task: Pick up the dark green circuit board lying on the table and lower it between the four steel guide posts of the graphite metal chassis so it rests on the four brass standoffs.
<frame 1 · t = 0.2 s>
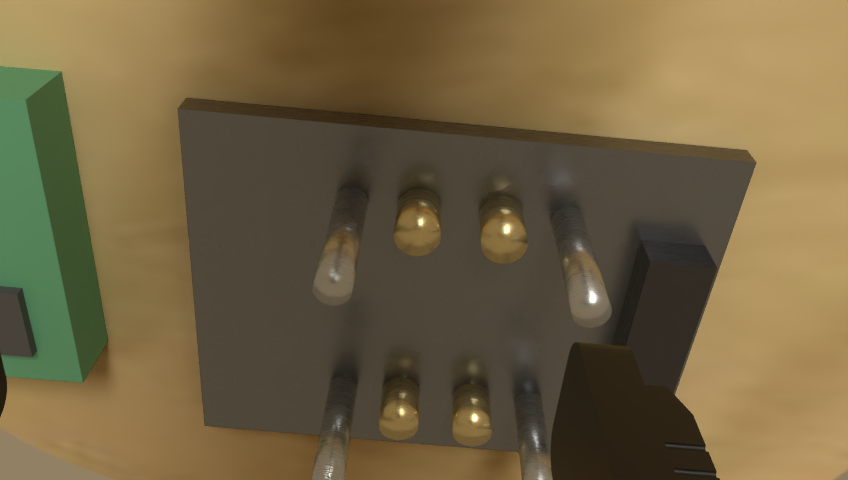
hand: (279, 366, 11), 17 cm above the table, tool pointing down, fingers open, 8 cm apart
board: (20, 209, 30), on the table
chassis: (447, 295, 31), on the table
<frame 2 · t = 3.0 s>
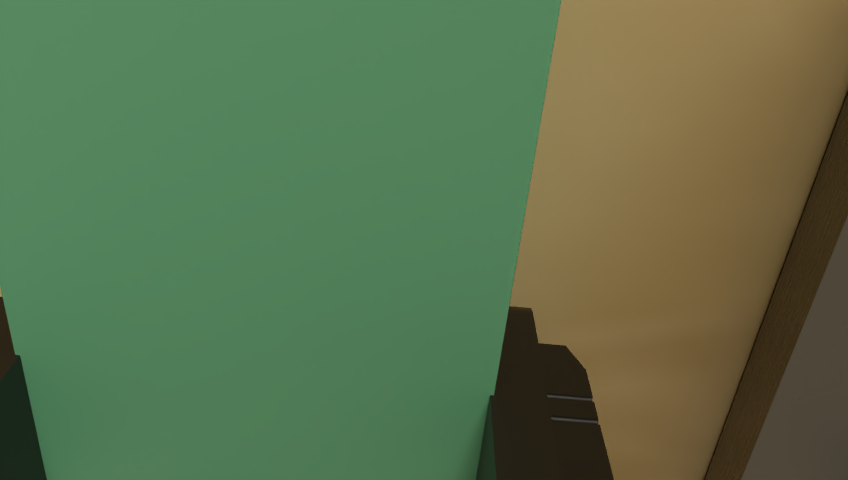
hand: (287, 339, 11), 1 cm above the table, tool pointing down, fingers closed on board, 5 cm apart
board: (299, 299, 12), on the table, touching gripper
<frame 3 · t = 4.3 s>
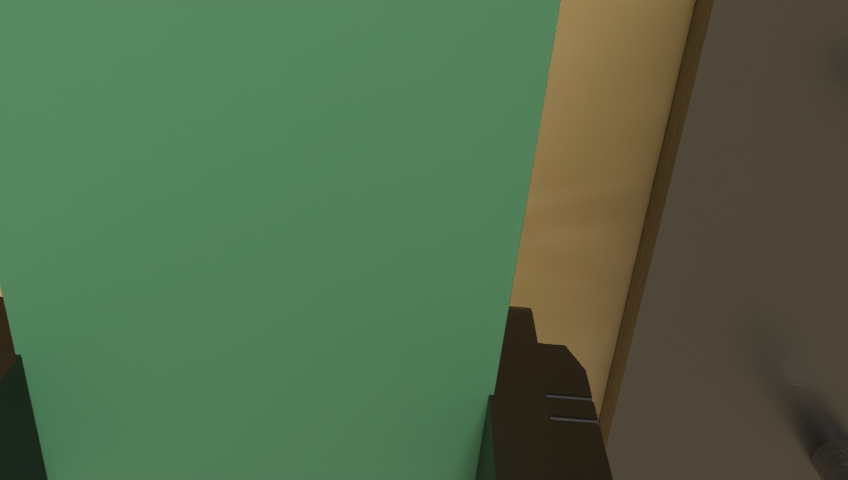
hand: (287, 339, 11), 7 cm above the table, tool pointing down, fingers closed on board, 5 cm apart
board: (299, 299, 12), point 6 cm above the table, touching gripper
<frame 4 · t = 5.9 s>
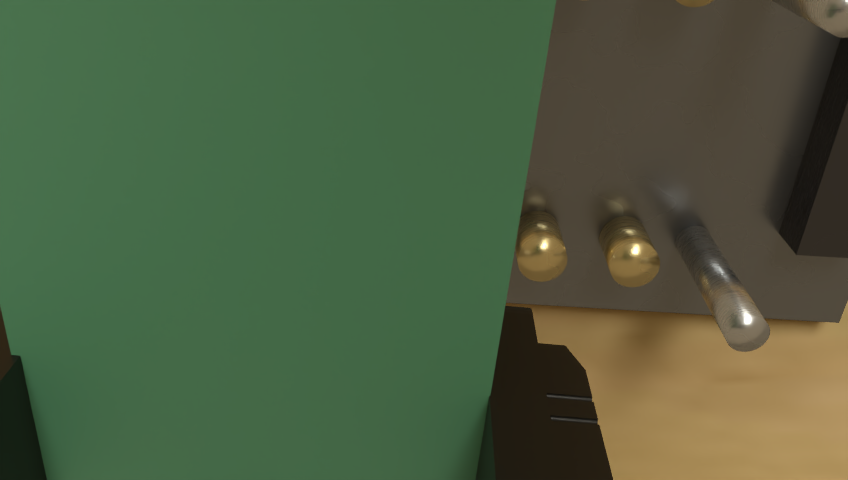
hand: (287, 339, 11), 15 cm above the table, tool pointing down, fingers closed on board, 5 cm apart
board: (296, 302, 12), point 15 cm above the table, touching gripper
chassis: (595, 99, 25), on the table
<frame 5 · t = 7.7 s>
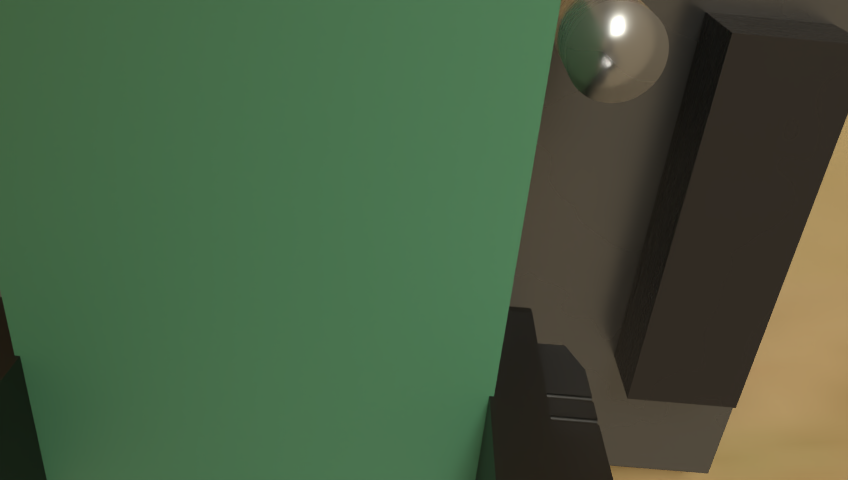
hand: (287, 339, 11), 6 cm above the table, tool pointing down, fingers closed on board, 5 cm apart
board: (299, 305, 12), point 6 cm above the table, touching gripper
chassis: (336, 156, 17), on the table
when the fingers open (5 cm above the table, at t = 9.0 s): board drops 1 cm, resting on chassis.
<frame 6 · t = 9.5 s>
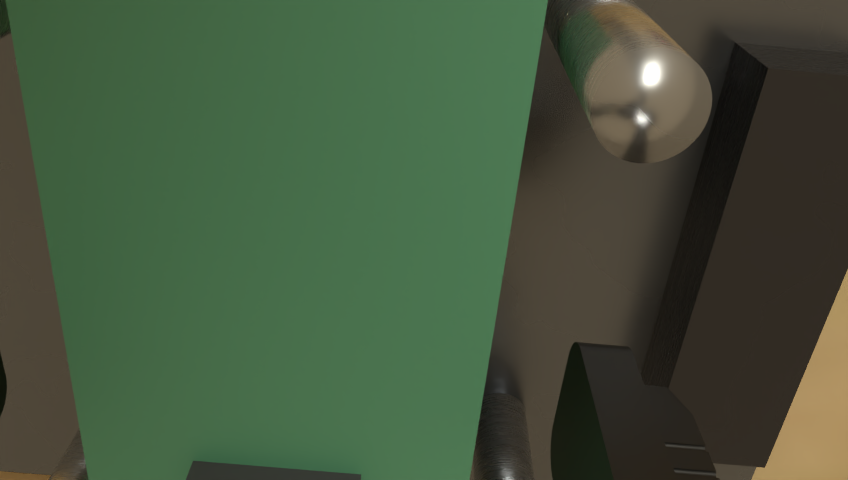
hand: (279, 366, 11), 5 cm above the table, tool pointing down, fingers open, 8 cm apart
board: (311, 269, 13), point 3 cm above the table, touching chassis
chassis: (330, 195, 15), on the table
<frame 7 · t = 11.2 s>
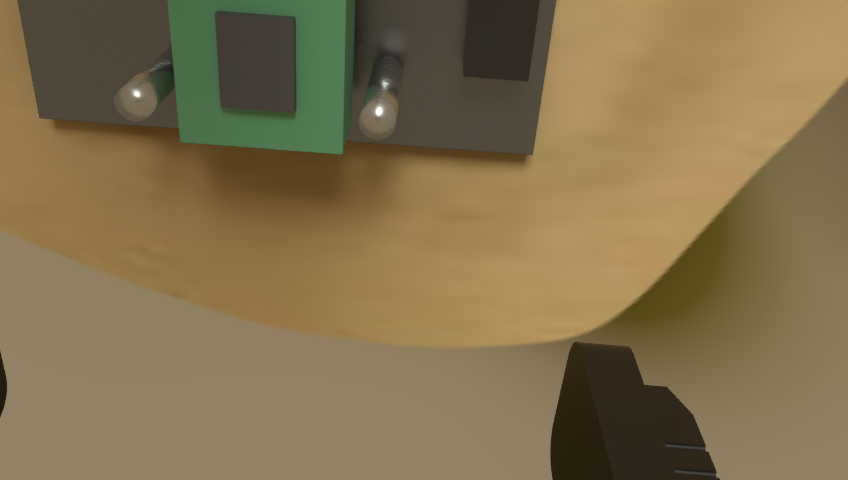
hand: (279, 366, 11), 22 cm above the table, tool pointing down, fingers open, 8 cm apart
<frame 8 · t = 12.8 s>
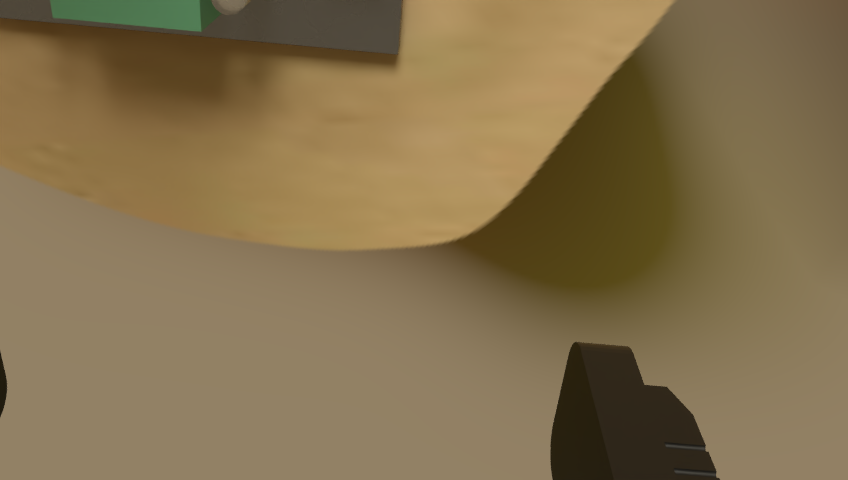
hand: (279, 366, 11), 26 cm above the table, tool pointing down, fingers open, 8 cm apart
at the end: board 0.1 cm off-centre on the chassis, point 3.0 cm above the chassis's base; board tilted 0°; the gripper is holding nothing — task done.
